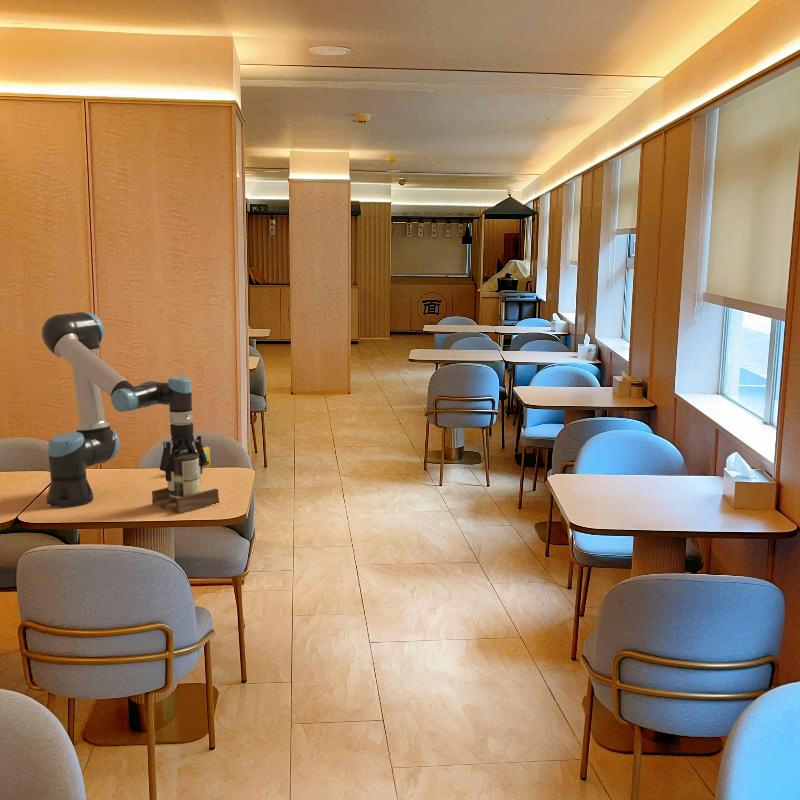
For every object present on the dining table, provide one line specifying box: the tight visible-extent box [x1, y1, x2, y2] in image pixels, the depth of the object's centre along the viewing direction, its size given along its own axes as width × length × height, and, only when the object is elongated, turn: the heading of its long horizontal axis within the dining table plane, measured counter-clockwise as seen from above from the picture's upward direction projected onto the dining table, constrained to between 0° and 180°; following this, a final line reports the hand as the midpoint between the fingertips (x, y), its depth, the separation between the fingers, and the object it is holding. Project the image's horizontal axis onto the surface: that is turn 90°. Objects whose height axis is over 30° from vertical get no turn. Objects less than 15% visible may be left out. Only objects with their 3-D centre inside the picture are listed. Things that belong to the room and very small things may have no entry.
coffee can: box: [169, 450, 201, 498], centre depth 308 cm, size 10×10×14 cm
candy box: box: [195, 446, 211, 470], centre depth 355 cm, size 16×2×8 cm, turn 147°
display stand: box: [151, 486, 220, 515], centre depth 309 cm, size 16×16×5 cm
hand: (184, 486), depth 308 cm, fingers closed on coffee can, 10 cm apart
